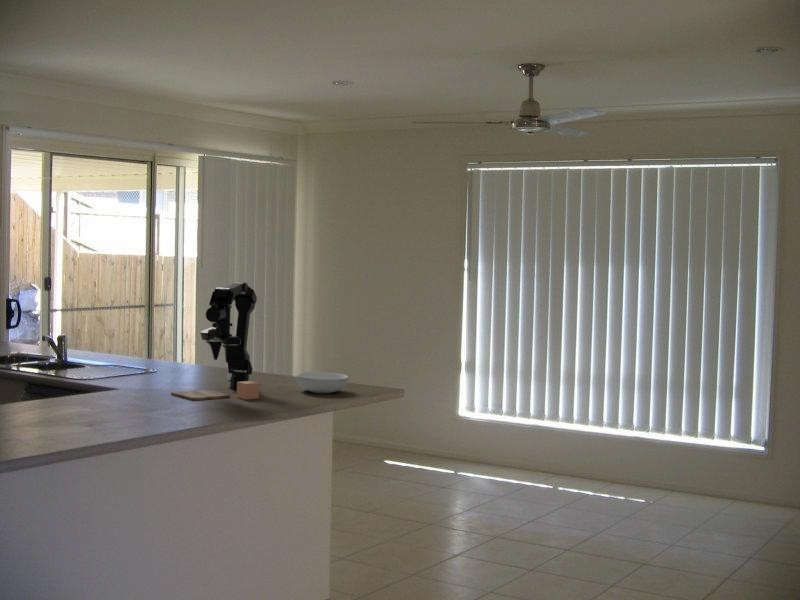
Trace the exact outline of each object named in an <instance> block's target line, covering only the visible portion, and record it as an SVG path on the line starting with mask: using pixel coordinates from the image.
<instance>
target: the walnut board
mask: <svg viewBox="0 0 800 600" xmlns="http://www.w3.org/2000/svg"><path fill="white" fill-rule="evenodd" d="M170 395H171V396H174V397H178V398H180V399H185V400H187V401H188V400H189V401H191V402H194V401H196V402H197V401H205V400H207V401H208V400H220V399H231V395H230V394H227V393H223V392H220V391H215V390H212V389H197V390H185V391H184V390H183V391H172V392H171V393H170Z"/></svg>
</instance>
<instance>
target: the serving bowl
mask: <svg viewBox="0 0 800 600" xmlns="http://www.w3.org/2000/svg"><path fill="white" fill-rule="evenodd" d="M348 380H349V376H348V375H347V374H344V373H339V372H330V371H328V372H327V371H305V372H300V373H296V381H297V383H298V385H299V386H300V387H301V388H303V389H304V390H306V391H309V392H311V393H313V394H331V393H334V392H339V391H342V390H343V389H344V388H345V387H346V385H347V383H348Z"/></svg>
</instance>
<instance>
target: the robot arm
mask: <svg viewBox="0 0 800 600" xmlns="http://www.w3.org/2000/svg"><path fill="white" fill-rule="evenodd" d="M257 300H258V298H257V294H256V292H255V289H252V287H250V286H249V285H248V283H247V282H245V281H235V282H233V283H232V284H230V285H227V286H226V287H221V286H220V287H215V288H214V290H213V291H212V294H211V298H210V300H209V304H208V306H210V307H209V308H207V310H206V312H205V317H206V320H207V321H209V323H212V324H211V327H209V328H206V329H203V330H201V331H200V332H199V333H200V335H201V339H202V340H203V341H205V343H206V344H208V345H209V347H210V349H211V353H212V356H213V360H214V361H218V358H219V356H220V353H221V352H220V351H221V347H223V349H224V354H225V355H224V357H225V362H226V363H227V373H228V372H229V373H232V377H231V381H230V384H229V385H230V386H229V387H228V388H229V389H233V390H236V391H237V382H242V381H250V375H252V374H253V366H252V363H251V360H250V357H251V356H250V353H249V352H248V350H247V348H248V347H247V346H248V336H249V327H250V326H249V325H250V317H251V313H252V312H253V311H254V310H255V307H256V304H257V302H258V301H257ZM233 301H234V302H233ZM233 303H234V305H235V308H236V310H237V321H236V322H237V323H236V332H235V335H233V334H231V327H233V323H231V312H232V311H231V309H232V305H233ZM234 370H241V371H234Z"/></svg>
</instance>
